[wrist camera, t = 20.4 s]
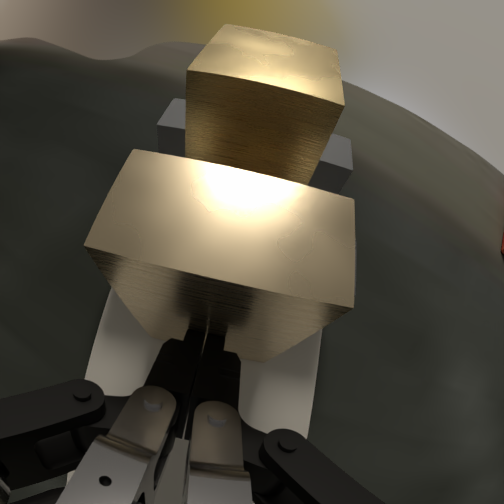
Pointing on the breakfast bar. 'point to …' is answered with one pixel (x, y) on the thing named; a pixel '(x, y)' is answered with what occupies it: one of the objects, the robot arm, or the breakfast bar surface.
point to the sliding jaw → (225, 253)
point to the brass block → (262, 103)
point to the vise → (252, 372)
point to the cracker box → (502, 245)
